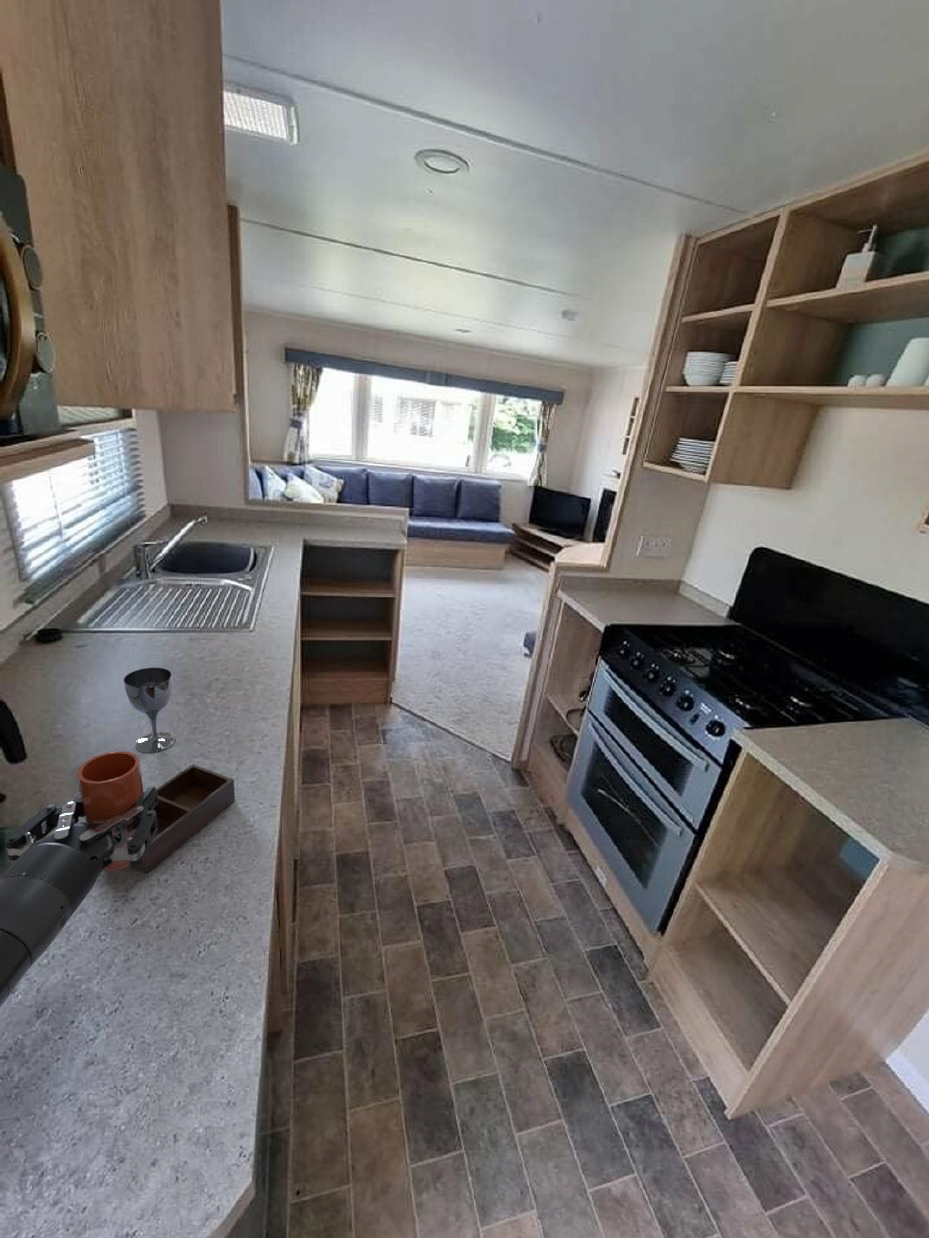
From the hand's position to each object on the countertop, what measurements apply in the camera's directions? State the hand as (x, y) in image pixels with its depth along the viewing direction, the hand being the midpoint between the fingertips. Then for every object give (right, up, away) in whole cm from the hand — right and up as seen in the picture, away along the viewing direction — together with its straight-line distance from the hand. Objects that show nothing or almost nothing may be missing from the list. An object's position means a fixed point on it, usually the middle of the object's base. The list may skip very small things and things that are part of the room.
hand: (125, 790), depth 65 cm
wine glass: (-20, -4, +40) cm, 45 cm away
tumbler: (-1, -8, 0) cm, 8 cm away
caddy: (-6, -13, +21) cm, 25 cm away
